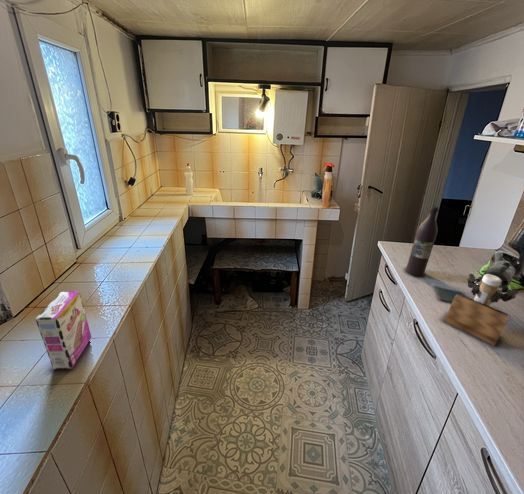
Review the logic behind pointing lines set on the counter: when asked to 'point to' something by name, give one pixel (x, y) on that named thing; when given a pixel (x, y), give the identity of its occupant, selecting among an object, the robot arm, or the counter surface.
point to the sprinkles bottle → (487, 289)
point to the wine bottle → (423, 244)
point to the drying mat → (447, 294)
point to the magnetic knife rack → (476, 318)
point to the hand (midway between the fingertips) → (483, 296)
